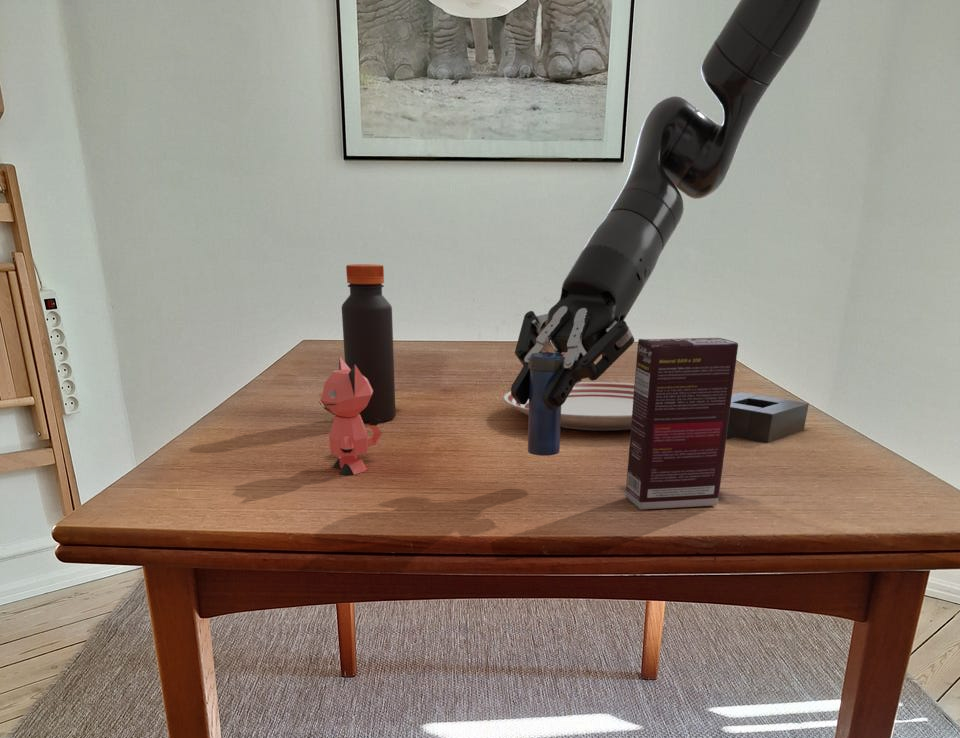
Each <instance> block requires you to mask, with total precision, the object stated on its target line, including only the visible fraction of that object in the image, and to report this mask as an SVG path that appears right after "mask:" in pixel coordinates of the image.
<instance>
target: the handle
mask: <svg viewBox="0 0 960 738" xmlns="http://www.w3.org/2000/svg"><path fill="white" fill-rule="evenodd" d="M565 357H566V356H565V355H564V356H563V354H560V353H550V352H542V353H533V354H531V355H530V356H529V369H530V385H529V415H528V421H527V422H528V423H527V424H528V425H527V426H528V427H527V453H528V454H530V455H534V456H541V457H549V456H555V455H558V454H559V453H560V449H561V448H560V447H561V446H560V445H561V427H560V426H561V406H559V408H558V409H557V410H556V411H553V410H549V409H548V408H547V407H546V405H545V404H544V402H543V400H542V396H543V394H544V392H545V391H546V389H547V387H548V386H549V384H550V382H551V381H552V379H553V377H554V376H555V374H556V372H557V371H558V369H564V367H563V363H564V360H565Z"/></svg>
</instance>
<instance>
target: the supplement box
mask: <svg viewBox="0 0 960 738" xmlns="http://www.w3.org/2000/svg"><path fill="white" fill-rule="evenodd" d="M738 349H739V343H738V342H736V341H734V340H730V339H727V338H726V339H725V338H722V337H694V338H693V337H692V338H639V339H638V340H637V349H636V350H637V351H636V360H635V361H636V362H635V363H636V364H635V374H634V384H635V386H634V396H633V410H632V422H631V430H630V436H629V447H628V448H629V449H628V461H627V472H626V483H625V498H627V499H628V500H629V501H630V502H631V503H632V504H633V505H634V506H635V507H636V508H638V509H639V510H640V511H643V510H658V509H659V510H661V509H674V508H675V509H676V508H679V509H680V508H693V507H712V506H713V507H715V506H718V504H719V497H720V490H721V482H722V474H723V467H724V462H725V461H724V460H725V459H724V458H725V453H726V443H727V440H726V437H727V429H728V422H729V413H730V405H731V397H732V395H733V389H734V388H733V387H734V381H735V372H736V367H737V366H736V365H737V359H738V358H737V357H738Z"/></svg>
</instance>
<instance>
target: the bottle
mask: <svg viewBox="0 0 960 738" xmlns="http://www.w3.org/2000/svg"><path fill="white" fill-rule="evenodd" d="M345 270H346V272H345V273H346V283H347V288H349V295H348V297H347V298H346V299H345V300H344V301H343V303H342V304H341V320H342V336H343V337H342V338H343V352H344V353H343V354H344V362H345V363H346V364H347V366H348V367H349V368H350V369H352V368H353V366H354V365H356V366H357V368H358V369H359V371H360V372H361V374H362V375H363V376H364V377H365V378H367V379H368V381H369V383H370V385H371V387H372V389H373V393H372V396H371V398H370V400H369V403H368V405H367V407H366V408H365V409H363V410H362V411H361V412H360V413H359V414H360V416H361V418H362V421H363V423H369V424H370V423H371V422H372V421H373V420H374V419H378V420H380V421H381V422H380V423H383V422H384V423H385V422H390V421H392V420H394V419H395V417H396V391H395V390H396V388H395V386H396V385H395V383H396V382H395V359H394V358H395V357H394V330H393V328H394V327H393V307H392V305H391V303H390V302H389V301H388V300H387V299H386V297H385V296H384V295H383V288H384V284H385V271H384V270H385V269H384V265H383V264H374V263H373V264H371V263H369V264H368V263H355V264H353V263H352V264H347V265H346V266H345Z"/></svg>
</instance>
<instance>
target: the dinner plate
mask: <svg viewBox="0 0 960 738" xmlns="http://www.w3.org/2000/svg"><path fill="white" fill-rule="evenodd" d="M634 386H635V383H629V382H628V383H627V382H610V381H609V382H605V381H581V382H579V383H576V384H575V385H574V387H573V389H572V390H571V392H570V394H569V396H568V397H567V399H566V401H565V402H564V403H563V404H562V405H561V426H560V428H564V429H570V430H580V431H581V430H582V431H597V432H599V431H600V432H604V431H605V432H606V431H607V432H610V431H629V430H630V431H631V422H632V410H633V396H634ZM503 401H504V402H505V403H506V404H507V405H509V406H510V407H512V408H513V409H514V410H516V411H518V412H519V413H522V414H525V415H526V416H529V399H528V401H527V403H526V404H525V405H523V404H518V403H517V402H516V401H515V399H514V398H513V396H512V395H511V390H510V391H508V392H506V393H504V395H503Z"/></svg>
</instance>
